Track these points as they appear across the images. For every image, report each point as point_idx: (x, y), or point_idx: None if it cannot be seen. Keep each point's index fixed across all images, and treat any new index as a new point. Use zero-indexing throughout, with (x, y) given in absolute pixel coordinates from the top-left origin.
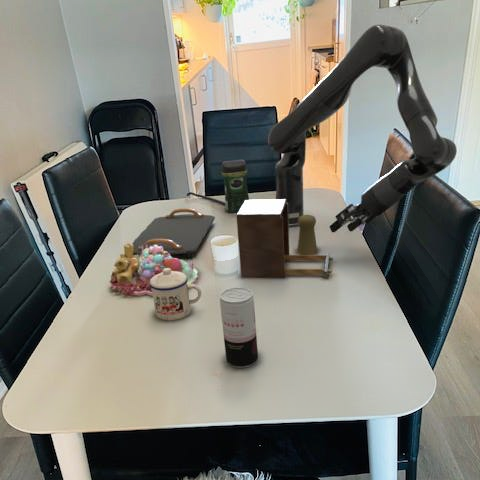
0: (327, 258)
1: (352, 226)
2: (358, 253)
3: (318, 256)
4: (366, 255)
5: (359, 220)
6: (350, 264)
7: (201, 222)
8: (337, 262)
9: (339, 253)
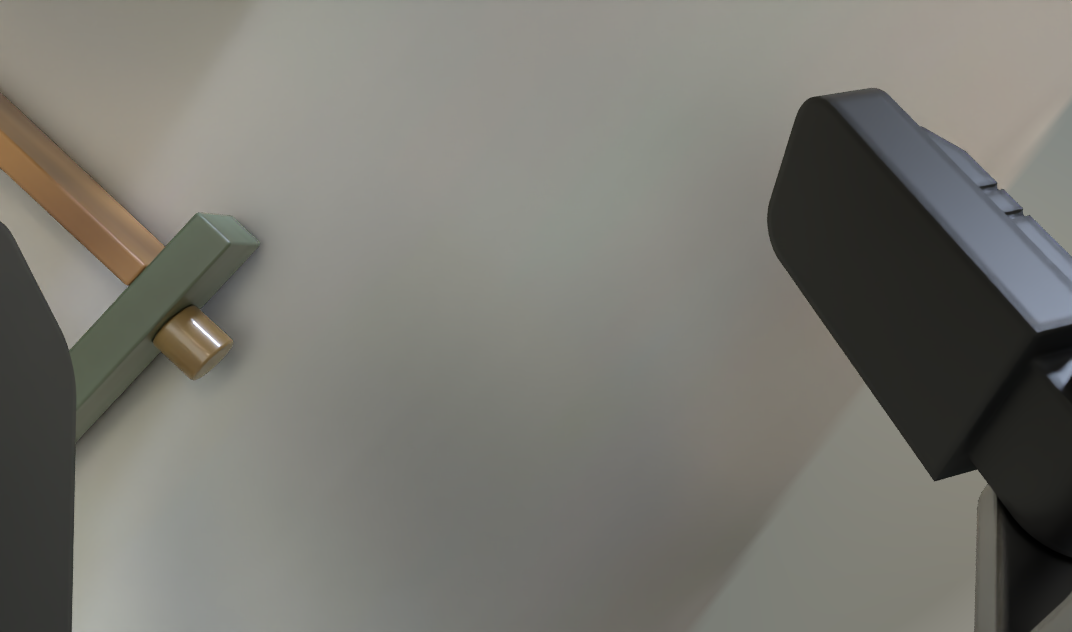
0: None
1: (848, 266)
2: (746, 365)
3: (39, 199)
4: (772, 499)
5: (1043, 462)
6: (375, 579)
7: None
8: (287, 404)
9: (541, 168)
